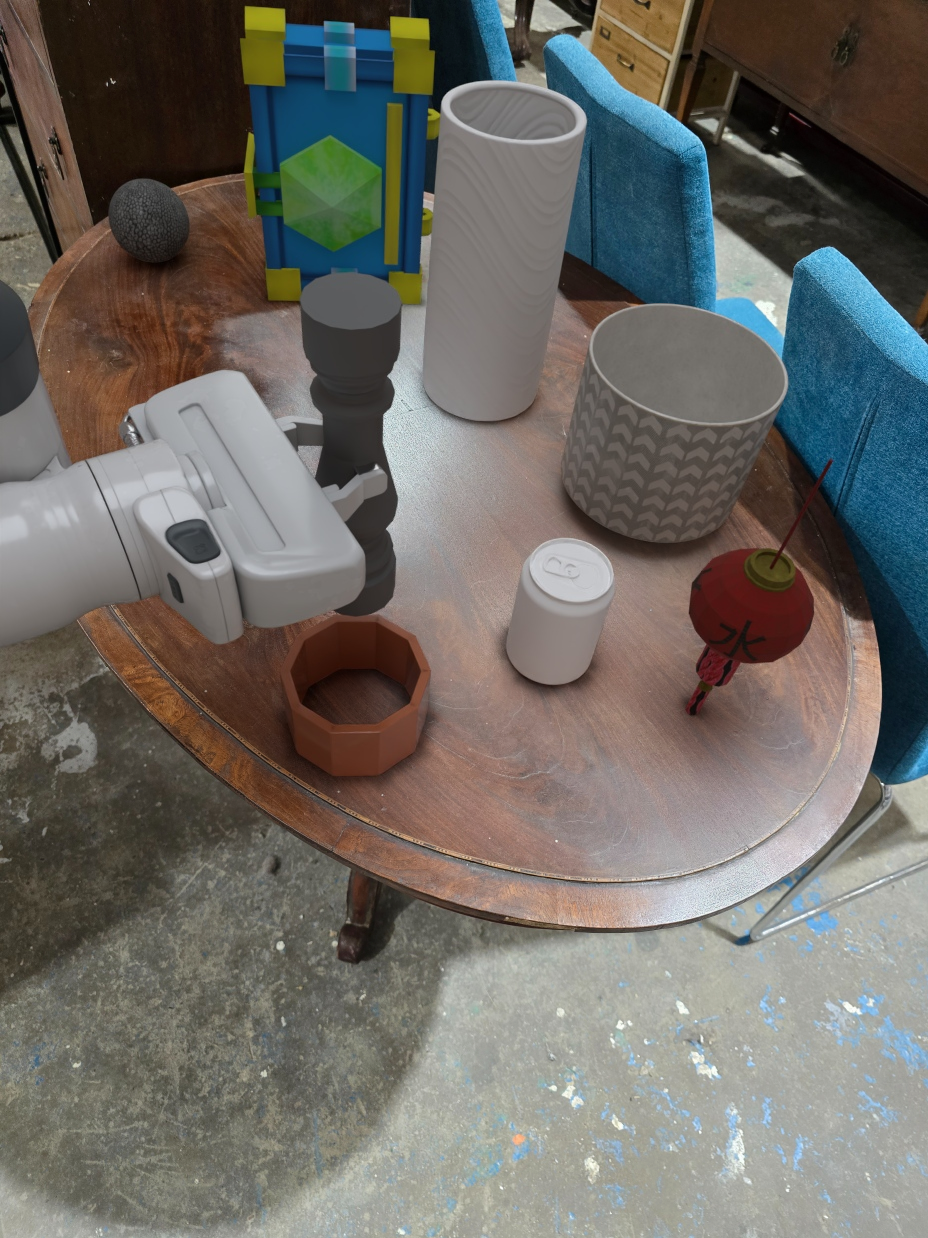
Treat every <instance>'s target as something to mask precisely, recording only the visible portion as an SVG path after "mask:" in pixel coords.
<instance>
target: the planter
mask: <svg viewBox="0 0 928 1238" xmlns="http://www.w3.org/2000/svg"><path fill="white" fill-rule="evenodd" d="M585 354H586V355H585V358H584V362H583V367H582V371H581V376H580V380H579V385H578V389H577V392H576V396H575V402H574V406H573V410H572V414H571V418H570V422H569V428H568V432H567V437H566V439H565V440H566V441H565V444H564V448H563V452H562V457H561V462H560V474H561V480H562V483H563V486H564V488H565V490H566V492H567V494H568V495H569V497H570V498H571V500H572V502H574V504H575V505H576V506H577V507H578V508H579V509H580V510H581V511H582V512H583V513H584V514H585V515H587V516H588V517H589V518H591V519H592V520H593V521H594V522H596V523H598V524H600V525H601V526H603V527H604V528H607V529H608V530H610V531H613V532H615V533H617V534H619V535H623V536H625V537H628V538H632V539H635V540H640V541H643V542H649V543H661V544H674V543H684V542H691V541H693V540H698V539H700V538H703V537H705V536H707V535H710V534H711V533H714V531H716V530H718V529H719V528H720V527H721V526H722V525H723V524H725V522H726V521H727V520H728V519H729V517H730V516H731V514H732V512H733V509H734V507H735V505H736V503H737V501H738V500H739V497H740V494H741V492H742V490H743V488H744V487H745V483H746V482H747V480H748V478H749V475H750V473H751V471H752V469H753V467H754V465H755V462H756V461H757V459H758V455H759V454H760V452H761V450H762V447H763V446H764V443H765V441H766V439H767V437H768V434H769V432H770V430H771V428H772V426H773V423H774V422H775V419H776V417H777V415H778V413H779V411H780V408H781V407H782V404H783V402H784V399H785V398H786V396H787V393H788V389H789V377H788V371H787V368H786V365H785V363H784V361H783V360H782V357H780V355H779V354H778V353H777V351H776V349H774V347H772V345H771V344H770V343H769V342H768V341H766V339H764V338H763V337H762V336H760V335H759V334H758V333H757V332H755V331H754V330H752V329H750V328H749V327H747V326H745V325H743V324H742V323H741V322H738V321H737V320H734V319H733V318H730V317H727V316H725V315H723V314H720V313H717V312H714V311H711V310H708V309H704V308H700V307H695V306H691V305H686V304H685V305H684V304H675V303H647V304H638V305H633V306H629V307H626V308H623V309H620V310H618V311H615V312H613V313H612V314H610V315H608V316H606V317H605V318H604V319H603V320H601V321H600V322H599V323H598V324H597V325H596V327H594V329H593V331H592V333H591V336H590V338H589V342H588V346H587V351H586V353H585Z"/></svg>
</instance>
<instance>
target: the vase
mask: <svg viewBox="0 0 928 1238" xmlns="http://www.w3.org/2000/svg"><path fill="white" fill-rule="evenodd" d="M440 103H441V104H440V113H439V114H440V127H439V136H438V140H437V141H438V142H437V153H436V155H437V156H436V166H435V167H436V168H435V180H434V192H433V193H434V195H433V207H432V212H433V219H432V233H431V234H430V248H429V262H428V276H427V277H428V279H427V290H426V302H425V303H426V305H425V317H424V331H423V333H424V334H423V347H422V348H423V349H422V384H423V388H424V390H425V393H426V394H427V396H428V398H430V400H431V401H432V402H433V403H435V405H437V406H438V407H439V408H441V409H442V410H443V411H445V412H447V413H449V414H451V415H453V416H456V417H459V418H463V419H466V420H470V421H477V422H496V421H502V420H506V419H510V418H514V417H516V416H518V415H519V414H522V413H523V412H524V411H526V410H527V409H528V408H529V407H531V405H532V404H533V403H534V402H535V399H536V397H537V395H538V392H539V387H540V383H541V378H542V374H543V369H544V365H545V359H546V354H547V349H548V344H549V338H550V334H551V333H550V332H551V327H552V322H553V315H554V310H555V305H556V299H557V294H558V293H557V292H558V288H559V283H560V277H561V272H562V265H563V262H564V261H563V259H564V254H565V250H566V243H567V238H568V231H569V227H570V221H571V215H572V211H573V210H572V209H573V204H574V200H575V193H576V187H577V181H578V175H579V170H580V164H581V160H582V159H581V158H582V154H583V153H582V152H583V147H584V141H585V135H586V129H587V125H588V124H587V123H588V118H587V114H586V113H585V111H584V110H583V109H582V107H581V106H580V105H579V104H577V103H576V102H575V101H574V100H573V99H571V98H569V97H567V96H566V95H564V94H561V93H560V92H557V91H556V90H555V91H554V90H553V89H549V88H547V87H543V86H540V85H535V84H532V83H527V82H521V81H513V80H512V81H511V80H499V79H498V80H480V81H473V82H468V83H464V84H461V85H458V86H456V87H454V88H451V89H450V90H449V91H448V92H446V94H445V95H444V96H443V97H442V100H441V102H440Z"/></svg>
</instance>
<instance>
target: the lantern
mask: <svg viewBox="0 0 928 1238" xmlns="http://www.w3.org/2000/svg"><path fill="white" fill-rule="evenodd" d="M833 462H834V459H832V458H830V459H828V461H827V463H826V464H825V466H824V468H823V469H822V471H821V474H820V475H819V477H818V479H817V481H816V483H815V484H814V486H813V488H812V490H811V492H810V494H809V495H808V497H807V499H806V500H805V502H804V504H803V506H802V508H801V510H800V512H799V513H798V515H797V517H796V519H795V521H794V523H793V524H792V526H791V527H790V530H789V531H788V533H787V535H786V536H785V539H784V541H783V542H782V544H781V545H780V548H779V549H774V548H771V547H763V548H758V547H750V548H747V547H746V548H738V549H734V550H729V551H726V552H724V553H722V554H719V555H717V556H715V557H713V558H711V559H710V561H708V562H707V563H706V564H705V566H703V568H702V569H701V571H700V572H699V573H698V574H697V575H696V577H695V578H694V579H693V581H692V582H691V588H690V595H689V605H688V606H689V607H688V616H689V619H690V621H691V625H692V626H693V629H694V631H695V633H696V634H697V635H698V636H699V638H700V639H701V640H702V641H703V642H704V643H705V645H704V648H703V650H702V652H701V653H700V655H699V657H698V659H697V661H696V663H695V673H696V675H697V676H698V678H699V679H700V680H699V681H698V684H697V686H696V687H695V690H694V691H693V693H692V695H691V697H690V698H689V700H688V702H687V705H685V712H686V714H688V715H689V716H691V717H694V716H697V715H698V714H699V712H700V711H701V709H702V707H703V706H704V704H705V702H706V700H707V698H708V697H709V695H710V693H711V691H712V690H713V689H714V688H713V687H718V688H719V687H723V686H727V685H728V684H729V682H730V681H731V680H732V678H733V677H734V676H735V673H736V672H737V670H738V668H739V667H740V665H741V664H747V665H748V664H750V665H754V664H766V663H774V662H777V661H778V660H780V659H782V658H784V657H786V656H787V655H789V654H791V652H793V651H794V650H796V649H797V648H798V647H799V646H801V645H802V643H803V641H804V640H805V638H806V637H807V635H808V633H809V632H810V631H811V628H812V624H813V620H814V616H815V597H814V595H813V592H812V591H811V588H810V587H809V583H808V582H807V580H806V577H805V576H804V574H803V573H802V571H801V569H799V568H798V567H797V566H796V565H795V563H794V561H793V559H791V557H789V556H788V555H787V554H786V553H784V550H785V548H786V547H787V545H788V543H789V541H790V540H791V537H792V536H793V535H794V533H795V530H796V529H797V527H798V525H799V523H800V522H801V520H802V518H803V516H804V514H805V513H806V510H807V509H808V508H809V505H810V503H811V502H812V500H813V499H814V496H815V495H816V493H817V491H818V489H819V488H820V485H821V483H822V482H823V480H824V479H825V477H826V475H827V473H828V472H829V470H830V468H831V466H832V465H833Z"/></svg>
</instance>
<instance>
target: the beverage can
mask: <svg viewBox="0 0 928 1238" xmlns="http://www.w3.org/2000/svg"><path fill="white" fill-rule="evenodd" d="M616 586H617V585H616V579H615V575H614V567H613V565H612V562H611V561H610V559H609V558H608V557H607V555H606V554H605V553H604V552H603V551H602V550H601V549H599V548H598V547H597V546H595V545H594V544H591V543H589V542H587V541H585V540H581V539H578V538H574V537H573V538H572V537H557V538H553V539H549V540H546V541H545V542H542V543H541V544H540V545H538V546H537V547H536V548H535V549H534V550H533V551H532V553H531V554H529V556H528V557H527V558H526V559H525V561H524V563H523V565H522V567H521V570H520V575H519V580H518V584H517V589H516V593H515V599H514V604H513V608H512V612H511V617H510V622H509V627H508V631H507V636H506V640H505V649H506V655H507V657H508V659H509V661H510V663H511V665H513V667H514V668H515V669H516V670H517V671H518V672H519V673H520V674H521V675H522V676H524V677H526V678H527V679H529V680H531V681H534V682H536V683H539V684H544V685H549V686H550V685H551V686H555V685H565V684H568V683H572V682H574V681H576V680H577V679H579V678H580V677H582V676H583V675H584V673H586V672H587V670H588V668H589V667H590V665H591V662H592V659H593V656H594V654H595V650H596V648H597V645H598V642H599V639H600V637H601V634H602V631H603V629H604V625H605V623H606V620H607V617H608V614H609V612H610V609H611V606H612V603H613V600H614V597H615V594H616Z"/></svg>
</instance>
